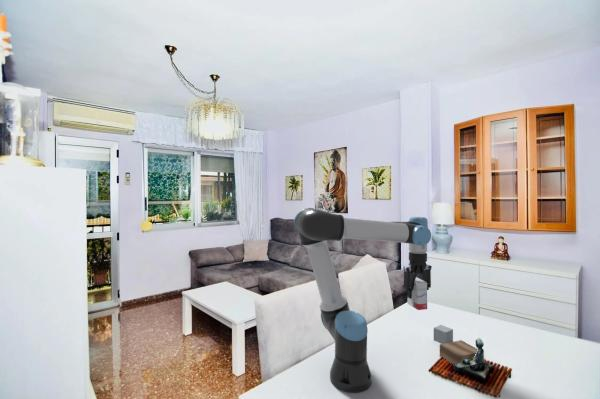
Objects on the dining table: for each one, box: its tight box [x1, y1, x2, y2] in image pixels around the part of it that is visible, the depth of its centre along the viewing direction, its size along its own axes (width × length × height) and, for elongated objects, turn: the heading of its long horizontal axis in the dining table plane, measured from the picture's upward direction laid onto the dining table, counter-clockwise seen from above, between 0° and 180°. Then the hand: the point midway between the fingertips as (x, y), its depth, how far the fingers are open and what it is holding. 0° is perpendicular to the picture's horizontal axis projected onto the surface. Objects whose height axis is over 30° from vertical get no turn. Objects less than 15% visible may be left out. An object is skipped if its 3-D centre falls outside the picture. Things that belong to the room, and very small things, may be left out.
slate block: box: [433, 324, 454, 344], centre depth 141 cm, size 6×6×6 cm
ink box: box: [406, 277, 428, 311], centre depth 132 cm, size 9×5×12 cm, turn 8°
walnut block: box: [439, 339, 479, 366], centre depth 125 cm, size 12×10×5 cm
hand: (416, 304), depth 132 cm, fingers closed on ink box, 6 cm apart
